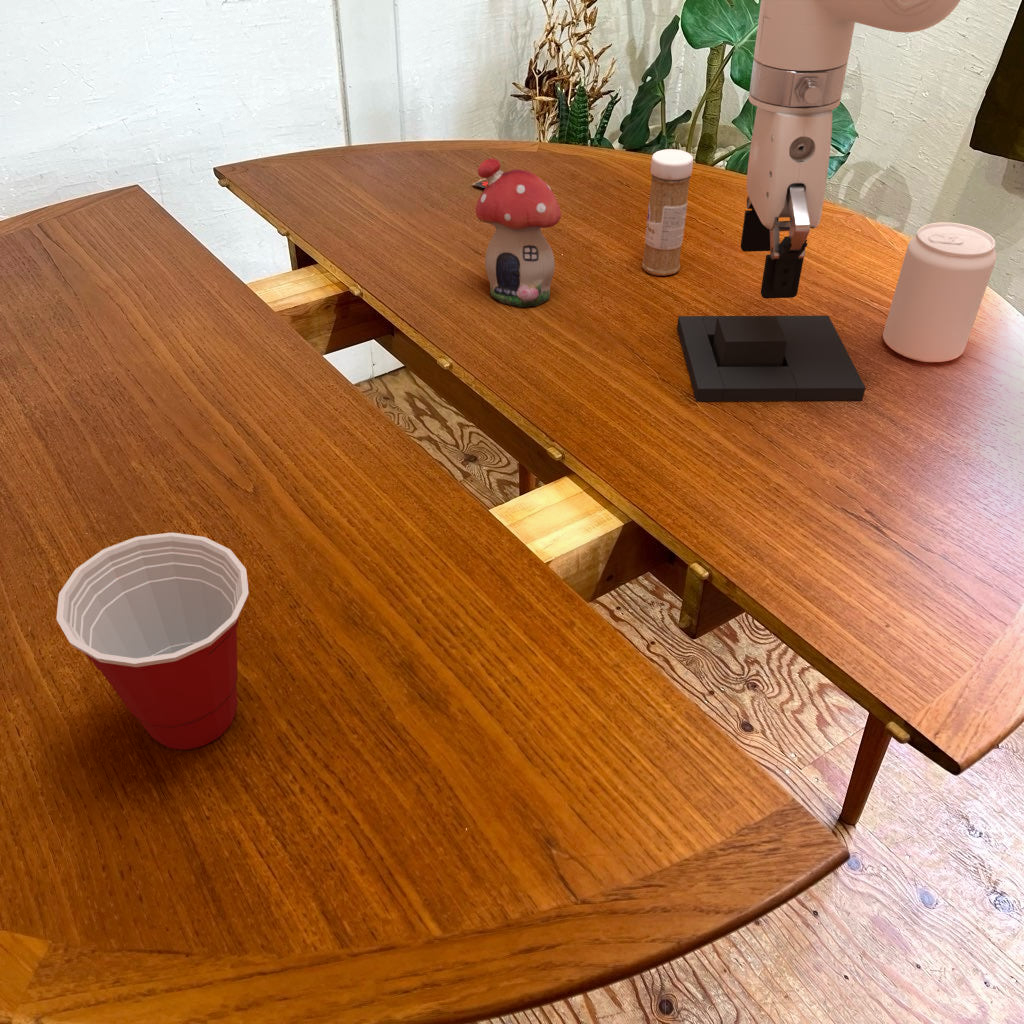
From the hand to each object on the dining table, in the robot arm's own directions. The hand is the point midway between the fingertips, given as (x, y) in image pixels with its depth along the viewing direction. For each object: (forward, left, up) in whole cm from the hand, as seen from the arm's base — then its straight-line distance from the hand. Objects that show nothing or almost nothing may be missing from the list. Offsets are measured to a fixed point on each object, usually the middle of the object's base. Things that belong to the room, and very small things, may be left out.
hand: (767, 272), depth 91 cm
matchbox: (+26, -46, -10) cm, 54 cm away
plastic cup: (+46, +44, -10) cm, 64 cm away
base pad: (-1, 0, -10) cm, 10 cm away
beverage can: (-18, -3, -10) cm, 21 cm away
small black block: (0, 0, -10) cm, 10 cm away
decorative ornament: (+24, -15, -10) cm, 30 cm away
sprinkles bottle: (+7, -21, -10) cm, 24 cm away
